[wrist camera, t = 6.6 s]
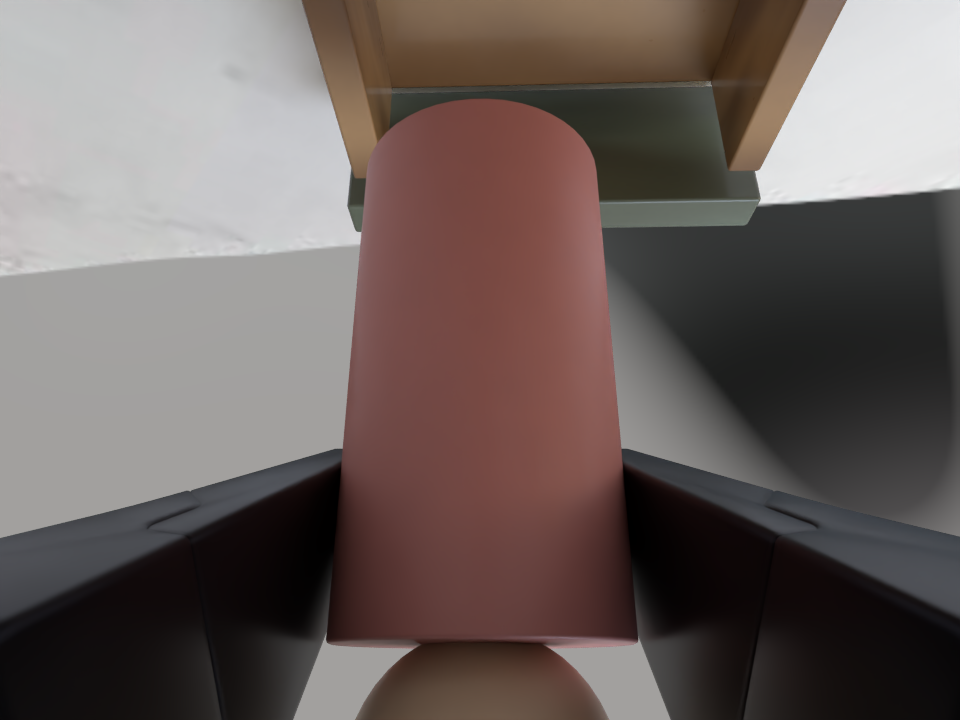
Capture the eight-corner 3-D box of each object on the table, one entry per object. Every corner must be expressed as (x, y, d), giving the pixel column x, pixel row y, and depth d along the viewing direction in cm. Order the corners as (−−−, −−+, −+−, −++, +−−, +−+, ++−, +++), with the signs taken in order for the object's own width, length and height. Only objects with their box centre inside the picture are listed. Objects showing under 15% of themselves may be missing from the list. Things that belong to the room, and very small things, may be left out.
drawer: (713, 144, 21) (733, 251, 20) (372, 151, 22) (363, 257, 20) (995, -555, 9) (1108, -428, 8) (206, -518, 9) (147, -389, 8)
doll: (324, 193, 12) (230, 993, 8) (464, 51, 9) (450, 1184, 5) (492, 269, 15) (499, 917, 10) (644, 174, 12) (750, 1014, 7)
